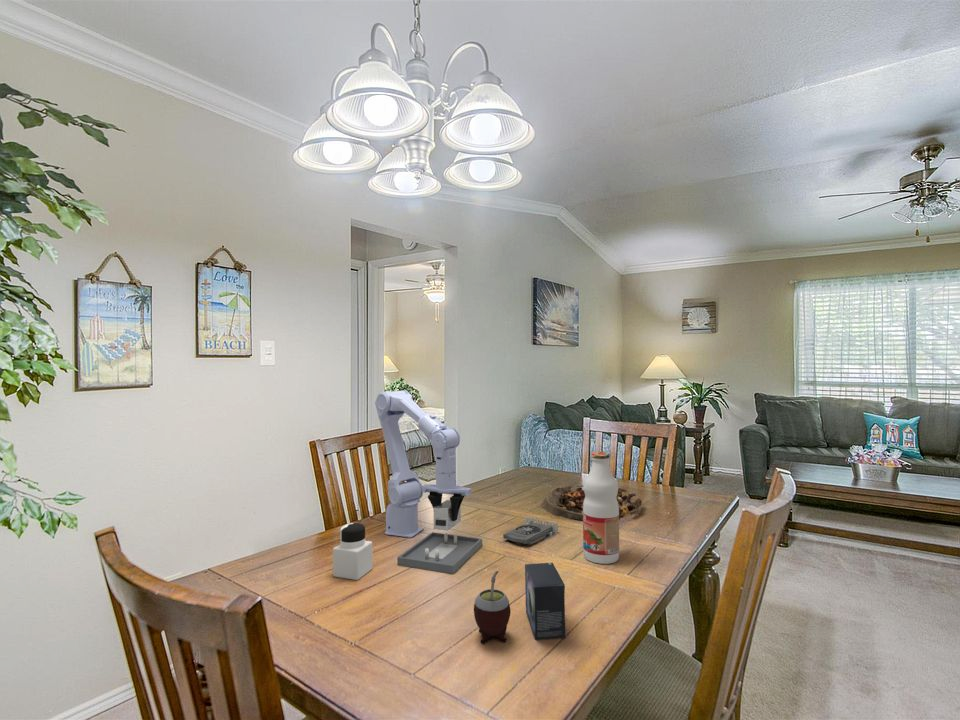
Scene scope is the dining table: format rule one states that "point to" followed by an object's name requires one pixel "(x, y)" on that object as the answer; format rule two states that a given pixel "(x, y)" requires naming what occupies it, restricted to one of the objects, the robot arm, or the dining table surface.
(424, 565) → the tray
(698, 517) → the dining table surface
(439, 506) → the block
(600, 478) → the fruit juice
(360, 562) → the medicine bottle
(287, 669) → the dining table surface
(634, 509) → the food dish
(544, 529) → the graphics card
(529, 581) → the small box
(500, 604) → the mate gourd
